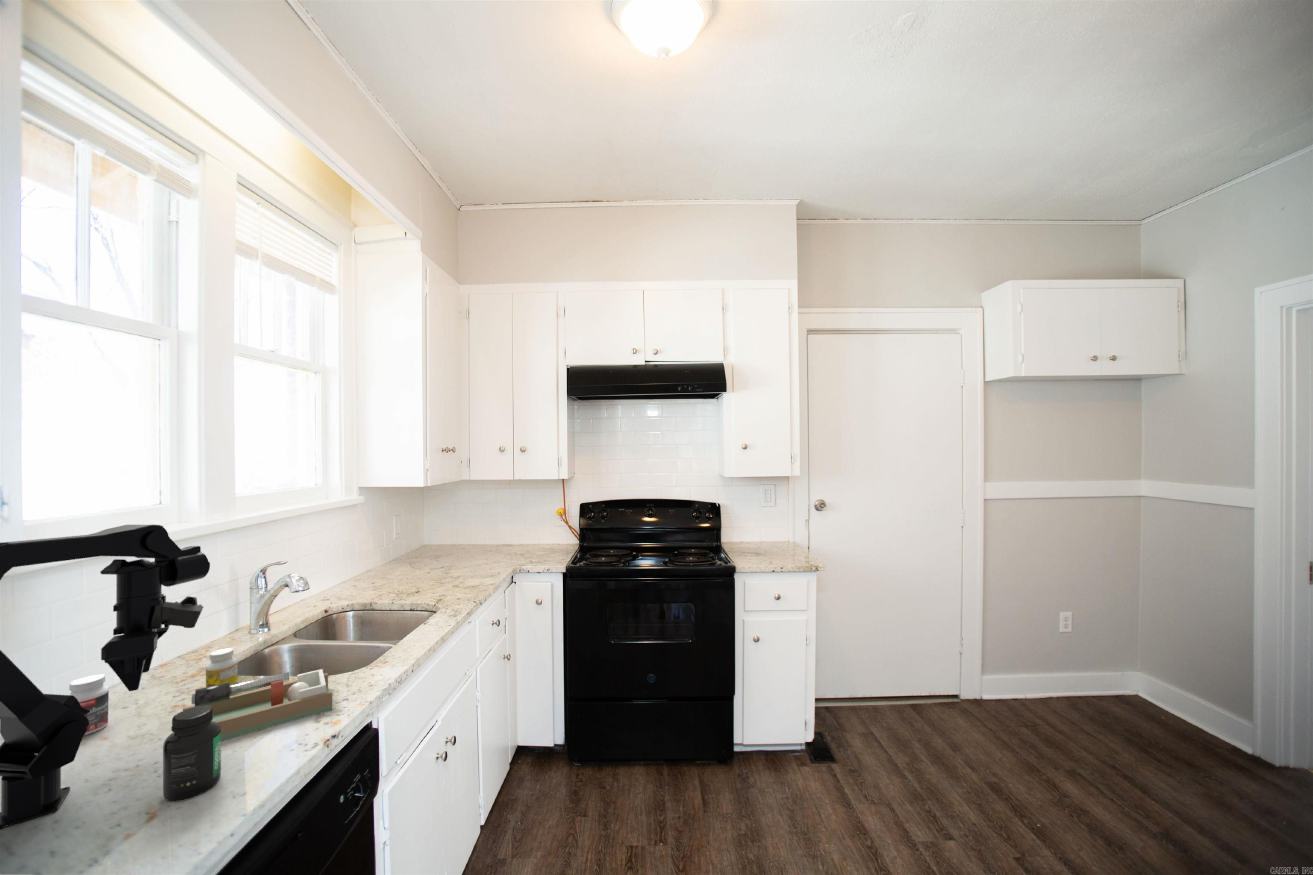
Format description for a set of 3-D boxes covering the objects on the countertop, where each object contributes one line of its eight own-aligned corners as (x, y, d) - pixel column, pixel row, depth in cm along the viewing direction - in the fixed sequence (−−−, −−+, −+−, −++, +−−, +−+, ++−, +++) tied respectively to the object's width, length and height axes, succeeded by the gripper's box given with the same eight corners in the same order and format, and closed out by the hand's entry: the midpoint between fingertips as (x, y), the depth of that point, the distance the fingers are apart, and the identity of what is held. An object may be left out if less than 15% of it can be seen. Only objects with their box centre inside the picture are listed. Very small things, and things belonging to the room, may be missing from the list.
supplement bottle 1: (231, 777, 83) (231, 704, 83) (182, 806, 77) (182, 726, 77) (201, 771, 85) (201, 699, 85) (151, 798, 78) (151, 720, 79)
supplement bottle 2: (241, 692, 113) (241, 649, 114) (212, 702, 109) (211, 658, 109) (231, 686, 116) (231, 645, 116) (201, 697, 111) (201, 653, 112)
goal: (326, 704, 105) (326, 684, 105) (299, 711, 102) (299, 691, 102) (322, 686, 113) (322, 668, 113) (297, 693, 110) (297, 674, 110)
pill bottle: (78, 739, 95) (78, 687, 96) (56, 737, 97) (56, 685, 97) (116, 723, 101) (116, 673, 101) (94, 721, 102) (95, 671, 102)
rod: (289, 705, 104) (289, 671, 104) (190, 731, 95) (190, 694, 95) (289, 697, 107) (288, 665, 107) (193, 722, 98) (193, 686, 98)
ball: (282, 696, 103) (294, 710, 104) (302, 681, 105) (314, 695, 106) (282, 689, 106) (294, 702, 107) (301, 675, 108) (313, 688, 110)
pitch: (332, 709, 105) (332, 692, 105) (173, 753, 90) (173, 733, 90) (327, 688, 114) (327, 672, 114) (183, 725, 100) (183, 707, 100)
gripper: (192, 596, 89) (193, 685, 88) (204, 576, 103) (205, 652, 103) (100, 610, 82) (100, 706, 82) (127, 586, 97) (127, 668, 96)
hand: (139, 680), depth 91 cm, fingers open, 9 cm apart
